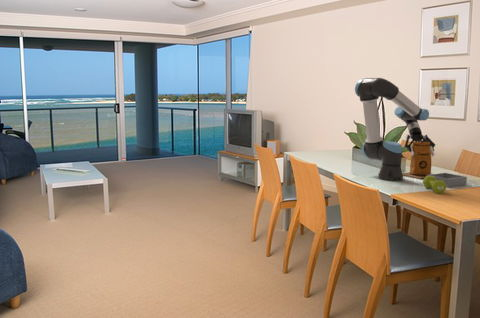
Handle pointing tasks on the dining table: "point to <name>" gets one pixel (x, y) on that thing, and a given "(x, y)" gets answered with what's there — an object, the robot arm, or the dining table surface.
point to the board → (414, 175)
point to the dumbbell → (434, 184)
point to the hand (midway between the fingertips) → (423, 155)
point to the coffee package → (421, 159)
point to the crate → (450, 179)
